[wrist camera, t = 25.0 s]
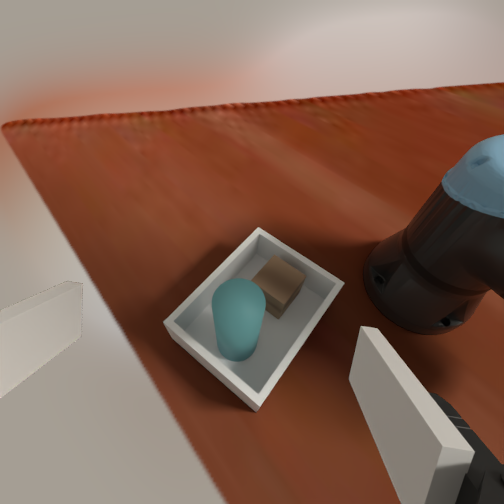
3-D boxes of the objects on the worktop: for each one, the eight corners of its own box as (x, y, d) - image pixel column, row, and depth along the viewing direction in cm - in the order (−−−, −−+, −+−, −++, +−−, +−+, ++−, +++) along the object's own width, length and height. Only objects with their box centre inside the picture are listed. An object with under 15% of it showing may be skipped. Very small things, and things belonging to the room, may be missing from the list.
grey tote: (255, 250, 46) (258, 227, 41) (331, 301, 42) (344, 282, 37) (171, 338, 38) (162, 322, 33) (256, 412, 34) (259, 406, 29)
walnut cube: (270, 273, 43) (274, 254, 39) (299, 293, 42) (306, 275, 38) (248, 297, 41) (250, 280, 37) (278, 319, 39) (283, 304, 35)
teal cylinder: (234, 314, 39) (235, 269, 29) (264, 338, 38) (276, 298, 28) (208, 344, 37) (200, 305, 27) (240, 370, 36) (242, 340, 26)
